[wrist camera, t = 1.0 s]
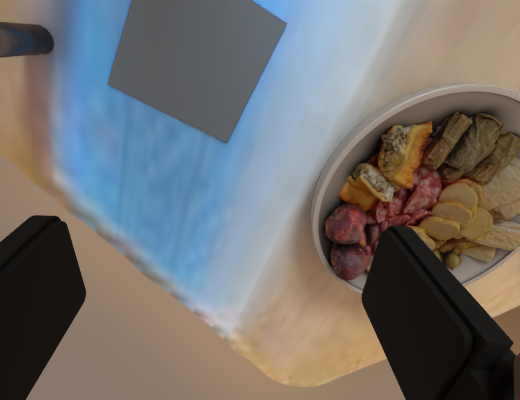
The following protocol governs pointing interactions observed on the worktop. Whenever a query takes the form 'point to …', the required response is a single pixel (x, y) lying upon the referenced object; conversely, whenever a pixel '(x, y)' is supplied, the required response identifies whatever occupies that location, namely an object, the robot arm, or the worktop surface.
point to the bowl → (425, 182)
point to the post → (24, 40)
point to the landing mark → (195, 58)
